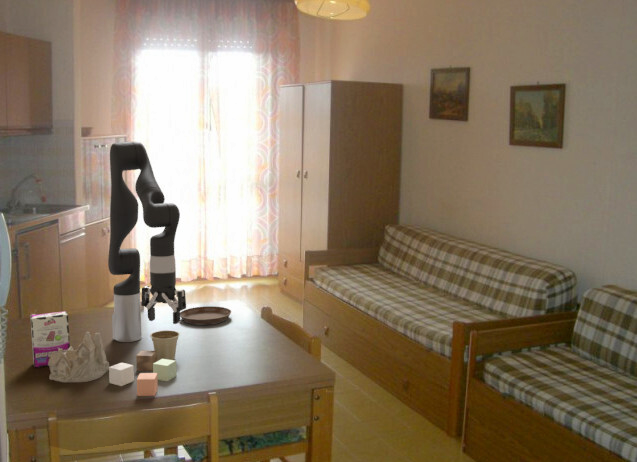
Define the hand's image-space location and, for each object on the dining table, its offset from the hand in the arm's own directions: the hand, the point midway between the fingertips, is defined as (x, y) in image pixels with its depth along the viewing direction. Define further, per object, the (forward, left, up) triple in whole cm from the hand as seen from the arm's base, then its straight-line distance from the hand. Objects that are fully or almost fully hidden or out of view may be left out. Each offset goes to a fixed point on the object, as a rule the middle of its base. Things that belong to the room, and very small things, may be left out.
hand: (164, 321), depth 201 cm
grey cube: (-10, -8, -18) cm, 22 cm away
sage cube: (0, 0, -18) cm, 18 cm away
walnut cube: (-10, +5, -18) cm, 21 cm away
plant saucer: (-21, +61, -18) cm, 67 cm away
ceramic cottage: (-26, -7, -18) cm, 33 cm away
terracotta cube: (+2, -12, -18) cm, 22 cm away
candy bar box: (-41, -3, -18) cm, 45 cm away
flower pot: (-9, +14, -18) cm, 24 cm away
